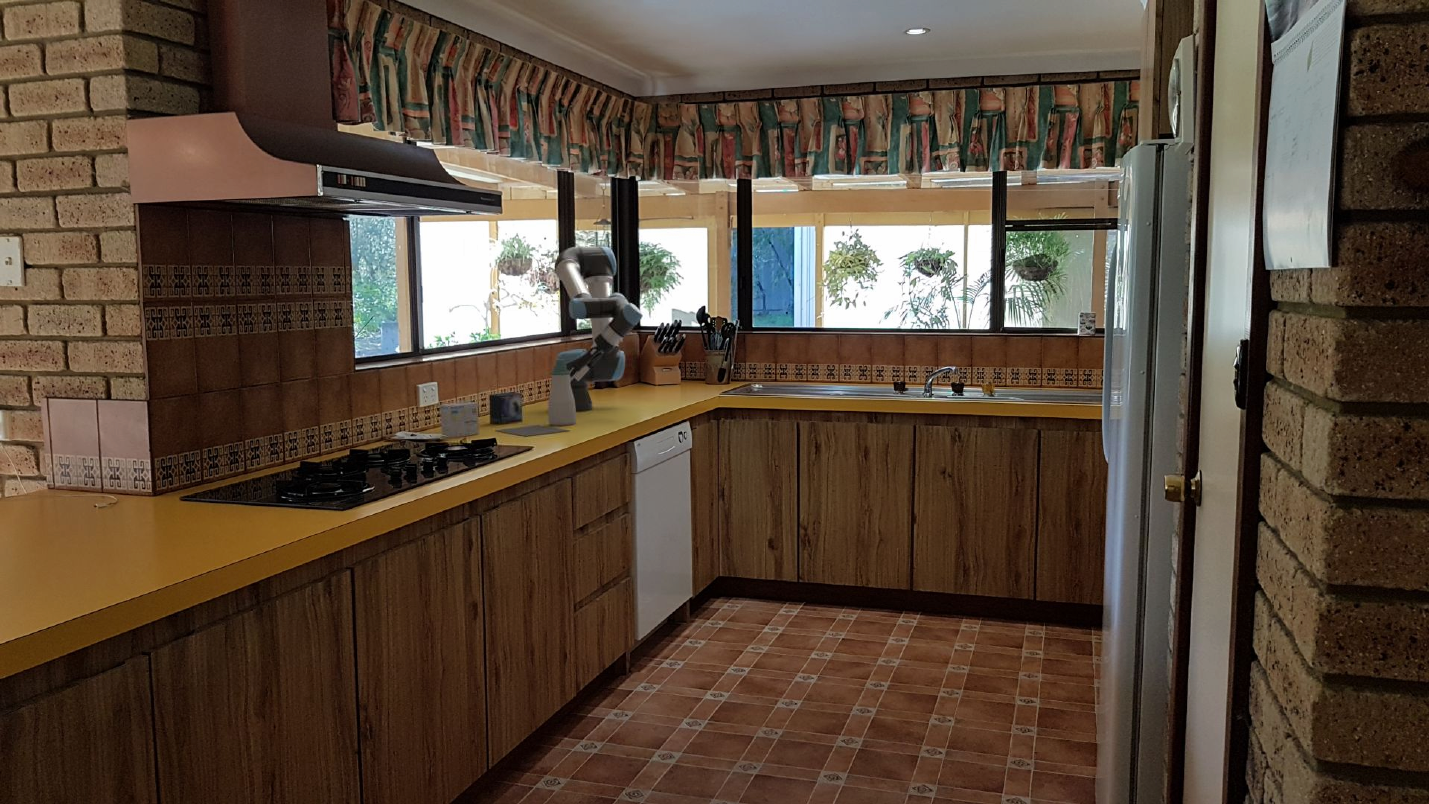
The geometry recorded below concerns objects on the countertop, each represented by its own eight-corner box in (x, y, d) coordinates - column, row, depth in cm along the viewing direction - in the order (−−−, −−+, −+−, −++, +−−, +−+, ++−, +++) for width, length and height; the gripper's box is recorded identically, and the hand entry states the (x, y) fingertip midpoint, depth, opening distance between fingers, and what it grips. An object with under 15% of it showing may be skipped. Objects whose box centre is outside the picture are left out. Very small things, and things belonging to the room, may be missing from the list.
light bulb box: (468, 432, 363) (467, 401, 362) (479, 434, 358) (478, 402, 357) (440, 436, 356) (439, 404, 354) (451, 438, 351) (449, 405, 349)
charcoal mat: (538, 425, 376) (538, 424, 376) (569, 431, 361) (569, 430, 361) (495, 431, 365) (495, 430, 365) (525, 436, 350) (525, 435, 350)
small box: (501, 424, 381) (500, 395, 380) (489, 423, 385) (487, 394, 384) (523, 421, 389) (522, 392, 388) (511, 420, 393) (510, 391, 392)
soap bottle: (578, 425, 376) (576, 360, 373) (550, 426, 373) (548, 361, 370) (573, 421, 385) (571, 358, 382) (546, 423, 382) (543, 359, 380)
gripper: (606, 348, 379) (567, 391, 383) (624, 344, 404) (586, 383, 408) (591, 333, 379) (552, 376, 384) (609, 330, 404) (572, 370, 408)
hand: (570, 380), depth 396 cm, fingers open, 13 cm apart
